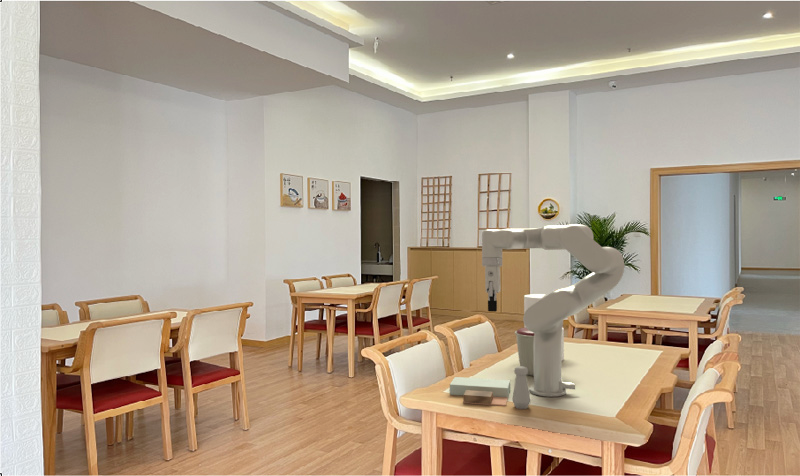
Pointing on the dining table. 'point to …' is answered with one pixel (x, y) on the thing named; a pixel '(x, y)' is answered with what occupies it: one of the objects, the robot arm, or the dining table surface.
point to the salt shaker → (521, 388)
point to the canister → (526, 349)
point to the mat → (495, 401)
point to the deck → (480, 386)
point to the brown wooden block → (478, 397)
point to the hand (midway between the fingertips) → (492, 311)
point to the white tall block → (531, 300)
